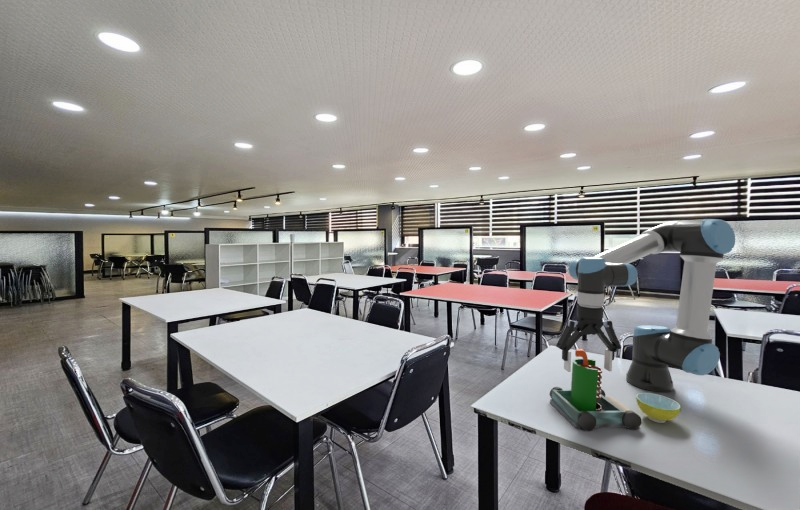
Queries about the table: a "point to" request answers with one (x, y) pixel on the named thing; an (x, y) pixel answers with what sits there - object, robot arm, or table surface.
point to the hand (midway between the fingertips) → (587, 370)
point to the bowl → (658, 407)
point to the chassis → (594, 412)
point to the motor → (585, 383)
